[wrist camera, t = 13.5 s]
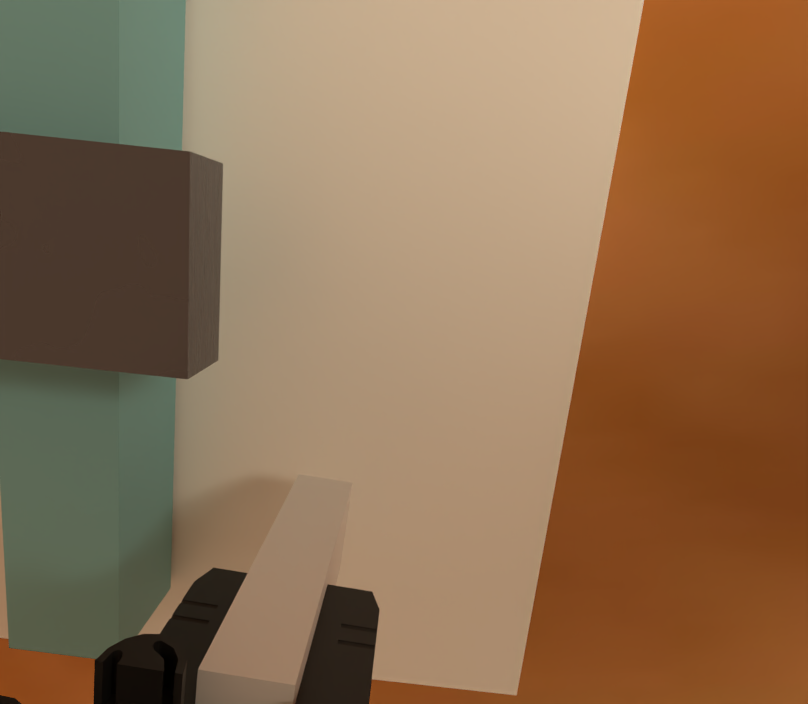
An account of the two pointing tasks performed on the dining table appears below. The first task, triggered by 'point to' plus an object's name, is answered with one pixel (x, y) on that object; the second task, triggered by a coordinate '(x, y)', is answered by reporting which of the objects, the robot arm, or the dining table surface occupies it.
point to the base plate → (398, 298)
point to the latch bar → (80, 387)
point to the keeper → (109, 256)
